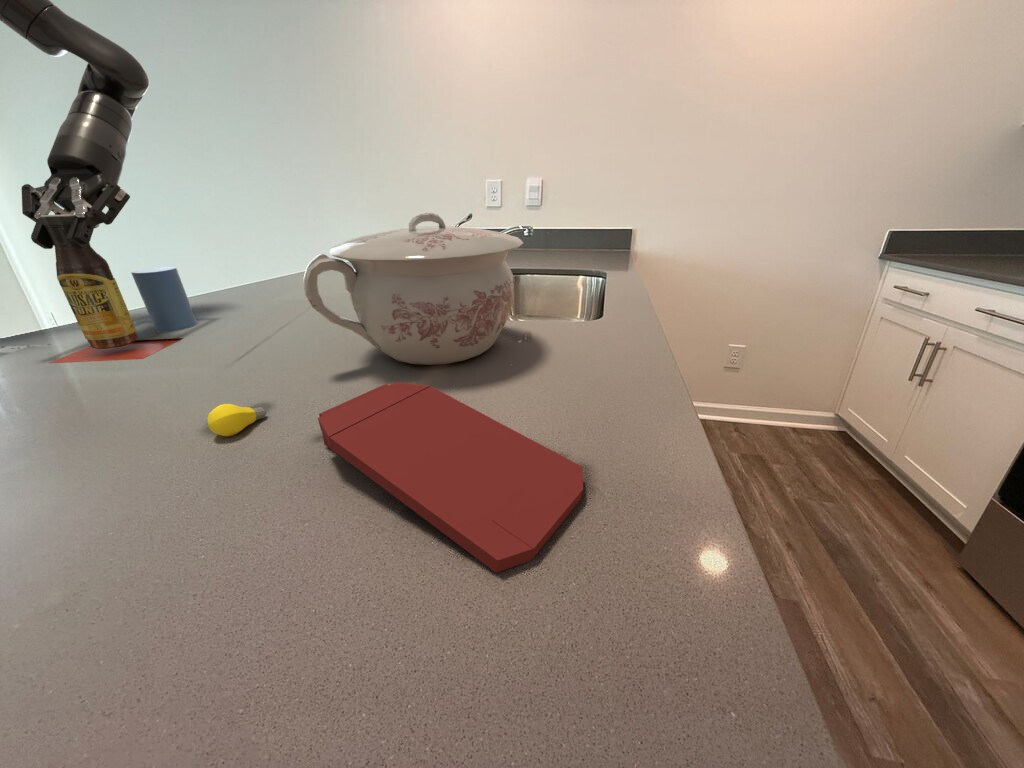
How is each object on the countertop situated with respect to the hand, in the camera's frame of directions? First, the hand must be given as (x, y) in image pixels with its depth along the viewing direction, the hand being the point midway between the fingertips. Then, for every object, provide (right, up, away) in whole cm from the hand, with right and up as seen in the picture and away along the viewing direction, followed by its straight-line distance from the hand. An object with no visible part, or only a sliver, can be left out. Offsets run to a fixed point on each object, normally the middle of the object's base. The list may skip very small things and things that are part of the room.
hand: (59, 244), depth 59 cm
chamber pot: (+54, -15, +8) cm, 56 cm away
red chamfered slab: (+59, -28, -21) cm, 69 cm away
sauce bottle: (0, -14, +9) cm, 16 cm away
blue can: (+1, -10, +19) cm, 21 cm away
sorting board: (0, -13, +14) cm, 19 cm away
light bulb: (+35, -25, -13) cm, 45 cm away
